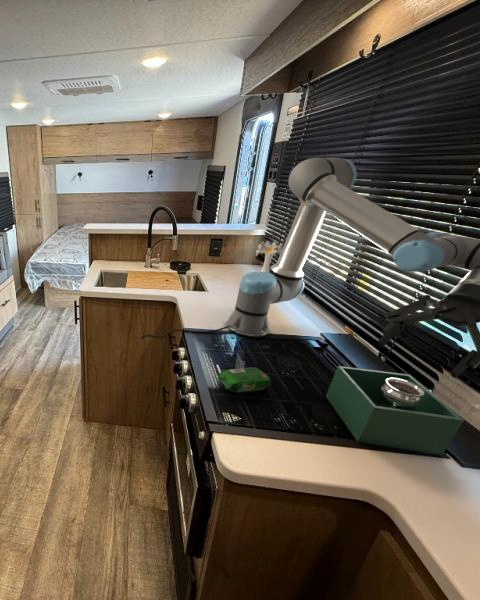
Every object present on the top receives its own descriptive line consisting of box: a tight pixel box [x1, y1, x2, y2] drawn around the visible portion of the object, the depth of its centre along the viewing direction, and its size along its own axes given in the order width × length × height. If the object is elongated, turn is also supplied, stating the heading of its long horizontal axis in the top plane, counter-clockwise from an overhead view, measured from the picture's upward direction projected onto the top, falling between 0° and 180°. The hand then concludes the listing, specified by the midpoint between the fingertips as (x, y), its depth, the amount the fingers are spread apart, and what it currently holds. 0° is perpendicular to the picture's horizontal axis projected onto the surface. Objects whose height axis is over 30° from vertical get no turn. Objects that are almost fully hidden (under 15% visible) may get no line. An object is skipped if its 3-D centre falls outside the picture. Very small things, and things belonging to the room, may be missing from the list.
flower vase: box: [255, 240, 283, 273], centre depth 169 cm, size 13×18×25 cm
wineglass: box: [382, 378, 424, 409], centre depth 76 cm, size 7×7×12 cm
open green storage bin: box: [325, 365, 465, 456], centre depth 78 cm, size 17×17×11 cm
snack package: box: [217, 366, 272, 394], centre depth 92 cm, size 7×16×5 cm, turn 99°
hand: (413, 358), depth 73 cm, fingers open, 13 cm apart
